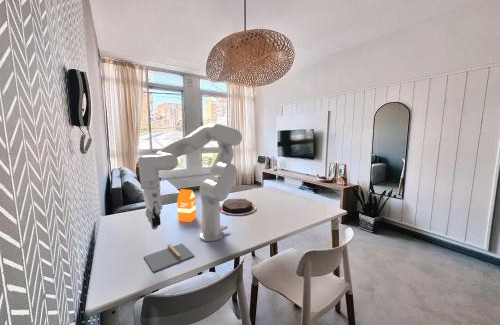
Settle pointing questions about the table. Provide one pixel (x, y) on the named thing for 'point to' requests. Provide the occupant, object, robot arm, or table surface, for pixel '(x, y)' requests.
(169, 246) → the rail
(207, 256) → the table surface
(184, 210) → the orange juice
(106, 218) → the table surface
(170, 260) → the mat
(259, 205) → the table surface
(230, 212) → the chocolate cake
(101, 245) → the table surface
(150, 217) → the lightbulb
